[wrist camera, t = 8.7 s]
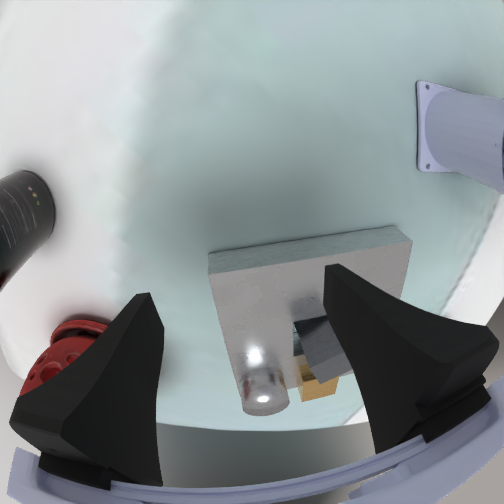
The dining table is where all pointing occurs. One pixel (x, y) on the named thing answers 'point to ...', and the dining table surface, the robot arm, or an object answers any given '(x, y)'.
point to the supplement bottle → (22, 221)
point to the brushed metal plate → (291, 305)
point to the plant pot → (62, 350)
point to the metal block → (322, 348)
